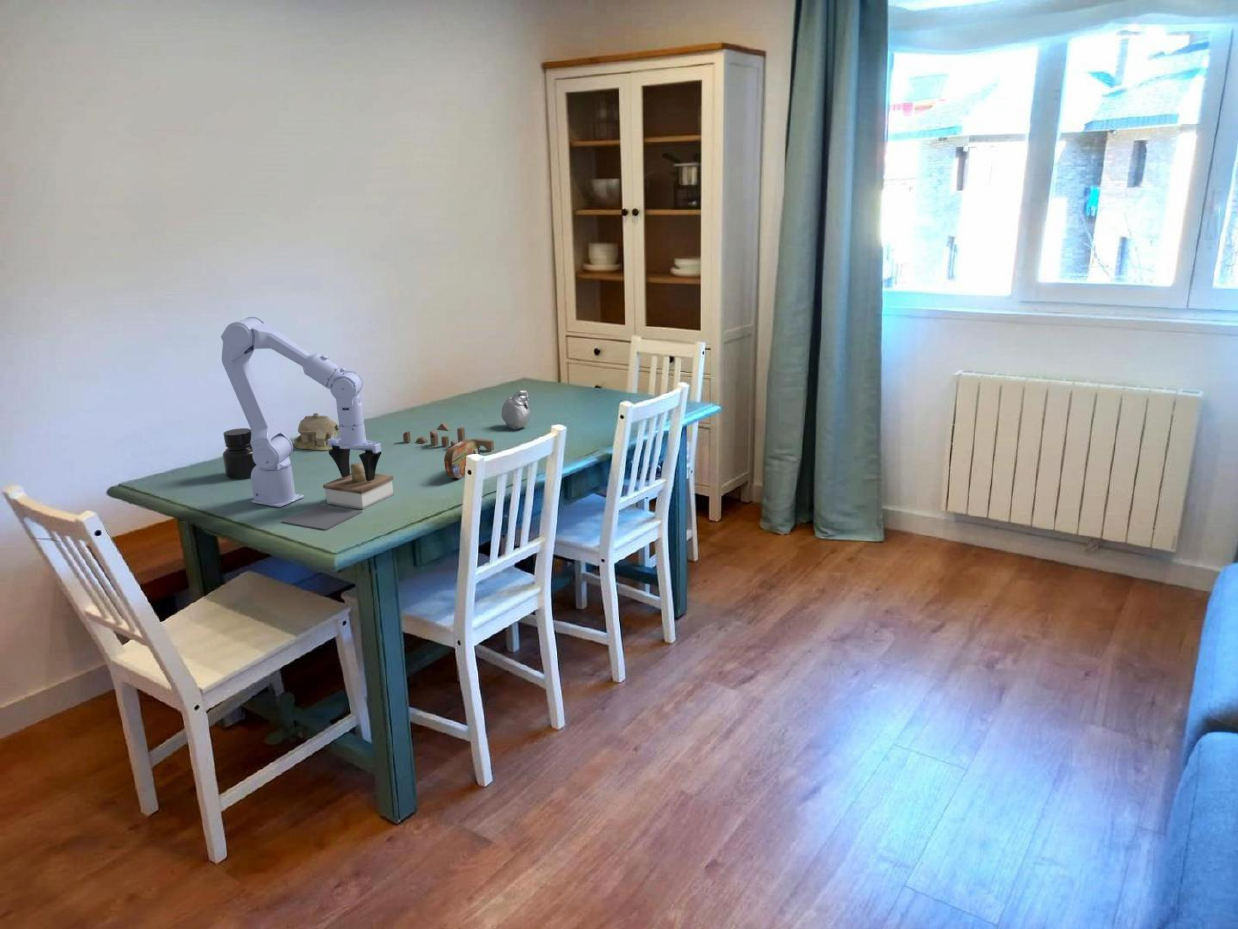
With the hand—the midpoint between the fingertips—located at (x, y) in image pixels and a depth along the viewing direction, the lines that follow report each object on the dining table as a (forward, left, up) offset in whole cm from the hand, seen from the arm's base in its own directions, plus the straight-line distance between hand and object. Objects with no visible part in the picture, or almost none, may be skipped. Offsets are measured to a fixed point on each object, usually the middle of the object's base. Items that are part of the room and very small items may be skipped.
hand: (358, 478), depth 208 cm
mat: (0, -13, -5) cm, 14 cm away
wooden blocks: (-7, +46, -6) cm, 47 cm away
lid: (0, 0, -1) cm, 1 cm away
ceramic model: (-44, +33, -6) cm, 55 cm away
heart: (+1, +71, -6) cm, 71 cm away
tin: (+12, +26, -6) cm, 29 cm away
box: (0, 0, -5) cm, 5 cm away
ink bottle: (-43, +4, -6) cm, 44 cm away
